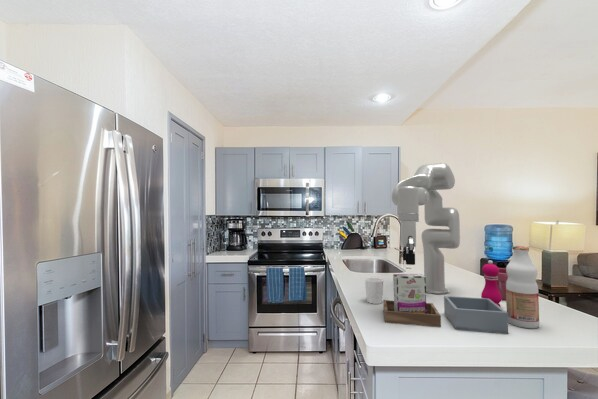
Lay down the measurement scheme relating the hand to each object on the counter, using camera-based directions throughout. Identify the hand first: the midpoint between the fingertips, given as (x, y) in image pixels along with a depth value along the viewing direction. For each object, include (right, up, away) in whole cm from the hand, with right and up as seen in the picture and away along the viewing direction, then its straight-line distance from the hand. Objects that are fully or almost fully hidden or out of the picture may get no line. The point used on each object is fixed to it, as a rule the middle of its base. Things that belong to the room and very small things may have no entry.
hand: (408, 262), depth 113 cm
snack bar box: (0, -21, 0) cm, 21 cm away
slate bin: (+22, -21, -6) cm, 31 cm away
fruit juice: (+39, -21, -7) cm, 45 cm away
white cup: (-8, -22, +19) cm, 30 cm away
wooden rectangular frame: (0, -21, 0) cm, 21 cm away
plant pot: (+55, -22, +24) cm, 64 cm away
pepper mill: (+39, -22, +11) cm, 46 cm away
